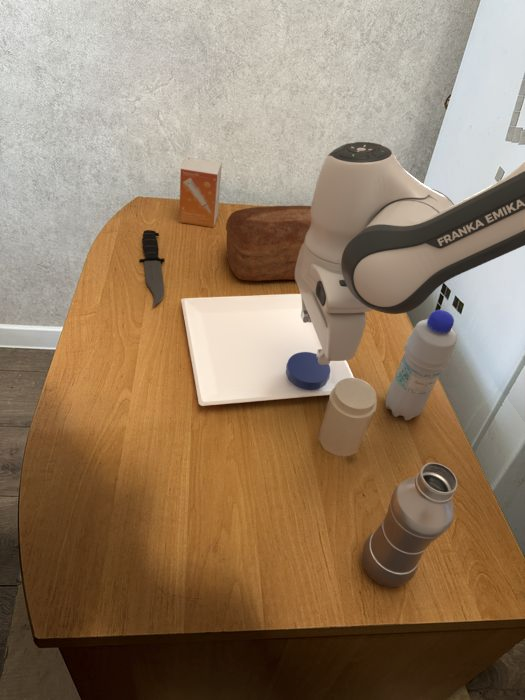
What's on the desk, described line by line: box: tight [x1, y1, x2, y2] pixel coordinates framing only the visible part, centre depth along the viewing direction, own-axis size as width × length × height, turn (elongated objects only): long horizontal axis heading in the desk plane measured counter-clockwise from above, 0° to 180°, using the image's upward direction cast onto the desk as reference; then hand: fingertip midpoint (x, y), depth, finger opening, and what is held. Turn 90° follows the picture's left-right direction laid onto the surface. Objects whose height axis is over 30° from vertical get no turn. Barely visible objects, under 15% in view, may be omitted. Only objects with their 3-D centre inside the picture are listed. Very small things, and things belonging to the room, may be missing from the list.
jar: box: [317, 377, 377, 457], centre depth 77 cm, size 7×7×10 cm
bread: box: [225, 205, 311, 282], centre depth 109 cm, size 14×28×12 cm, turn 105°
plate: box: [180, 293, 355, 407], centre depth 92 cm, size 26×26×2 cm
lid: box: [286, 352, 330, 390], centre depth 86 cm, size 7×7×2 cm
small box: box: [178, 156, 223, 229], centre depth 118 cm, size 8×6×13 cm
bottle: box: [385, 309, 458, 421], centre depth 80 cm, size 7×7×20 cm
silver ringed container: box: [361, 462, 458, 588], centre depth 59 cm, size 6×7×20 cm
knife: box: [138, 229, 165, 308], centre depth 105 cm, size 25×2×5 cm
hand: (314, 339), depth 81 cm, fingers open, 8 cm apart
